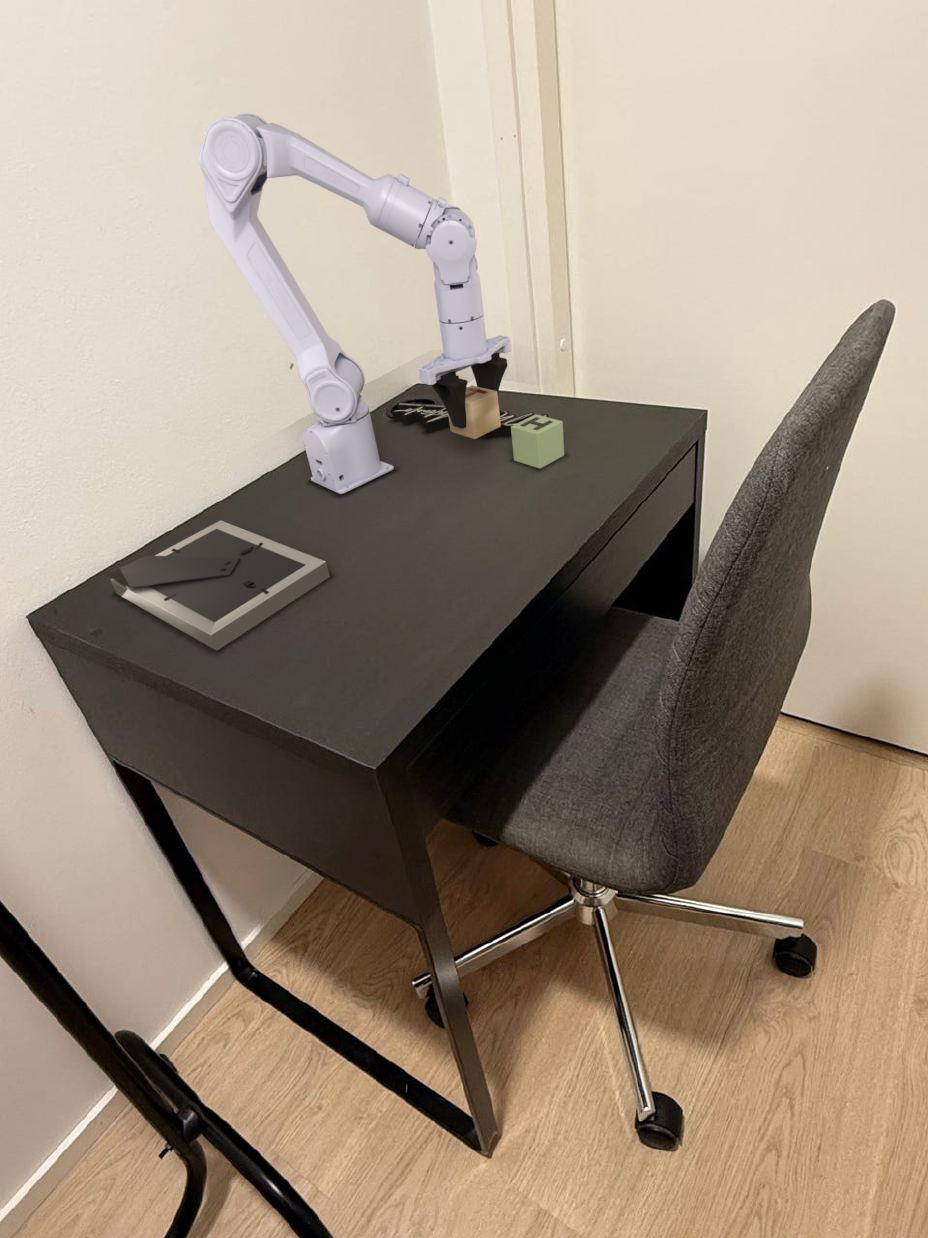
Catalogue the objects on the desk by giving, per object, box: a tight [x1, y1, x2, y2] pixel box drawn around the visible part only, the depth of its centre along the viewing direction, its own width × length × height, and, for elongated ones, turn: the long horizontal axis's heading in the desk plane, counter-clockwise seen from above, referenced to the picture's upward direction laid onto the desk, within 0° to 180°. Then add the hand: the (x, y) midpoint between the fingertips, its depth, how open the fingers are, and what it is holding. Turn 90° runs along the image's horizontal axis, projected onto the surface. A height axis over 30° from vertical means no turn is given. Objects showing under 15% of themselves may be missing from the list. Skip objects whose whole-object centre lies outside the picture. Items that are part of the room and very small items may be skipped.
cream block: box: [448, 384, 501, 440], centre depth 102 cm, size 5×5×5 cm
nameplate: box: [391, 401, 550, 439], centre depth 118 cm, size 28×2×10 cm
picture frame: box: [107, 520, 331, 652], centre depth 86 cm, size 16×3×21 cm
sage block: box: [511, 413, 565, 469], centre depth 103 cm, size 5×5×5 cm
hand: (474, 419), depth 103 cm, fingers closed on cream block, 5 cm apart
